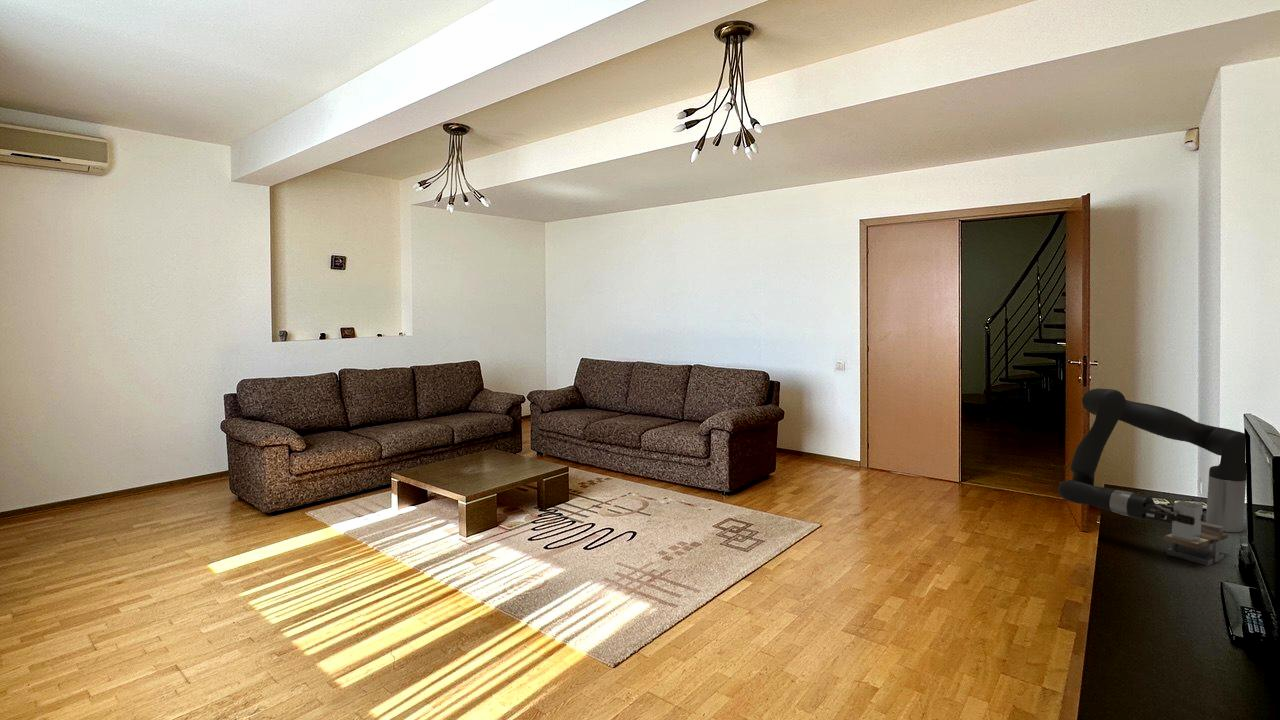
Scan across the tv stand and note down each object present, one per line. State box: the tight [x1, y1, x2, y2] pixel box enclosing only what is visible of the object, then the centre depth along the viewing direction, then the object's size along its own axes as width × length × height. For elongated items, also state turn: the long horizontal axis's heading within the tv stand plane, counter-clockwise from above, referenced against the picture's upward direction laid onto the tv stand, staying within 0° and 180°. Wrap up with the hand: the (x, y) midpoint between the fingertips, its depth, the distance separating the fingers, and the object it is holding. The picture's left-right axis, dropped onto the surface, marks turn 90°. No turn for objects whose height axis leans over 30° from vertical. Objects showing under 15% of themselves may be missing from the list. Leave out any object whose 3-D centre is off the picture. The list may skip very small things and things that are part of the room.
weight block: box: [1171, 500, 1204, 542], centre depth 188 cm, size 5×5×10 cm
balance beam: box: [1163, 521, 1229, 549], centre depth 191 cm, size 20×8×3 cm, turn 119°
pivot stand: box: [1166, 540, 1225, 567], centre depth 192 cm, size 10×10×6 cm
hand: (1198, 519), depth 186 cm, fingers closed on weight block, 5 cm apart
